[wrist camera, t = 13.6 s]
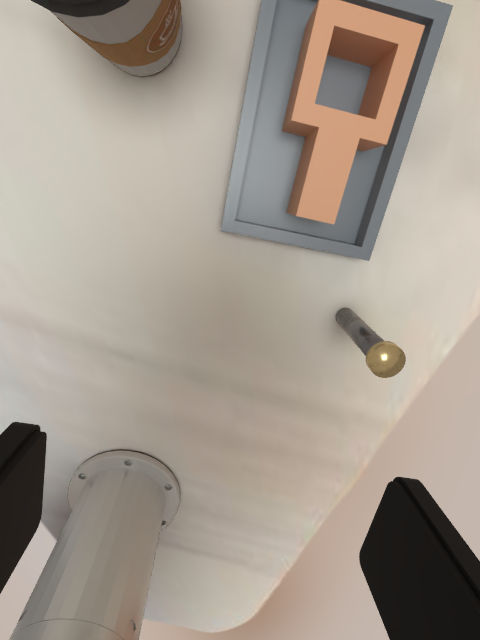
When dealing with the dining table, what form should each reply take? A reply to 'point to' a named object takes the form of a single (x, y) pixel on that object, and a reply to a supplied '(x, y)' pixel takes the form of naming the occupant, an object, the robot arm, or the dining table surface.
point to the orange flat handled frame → (335, 125)
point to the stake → (372, 345)
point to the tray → (285, 148)
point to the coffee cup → (125, 30)
